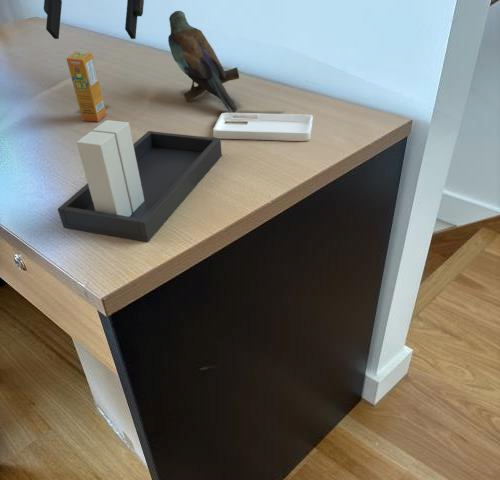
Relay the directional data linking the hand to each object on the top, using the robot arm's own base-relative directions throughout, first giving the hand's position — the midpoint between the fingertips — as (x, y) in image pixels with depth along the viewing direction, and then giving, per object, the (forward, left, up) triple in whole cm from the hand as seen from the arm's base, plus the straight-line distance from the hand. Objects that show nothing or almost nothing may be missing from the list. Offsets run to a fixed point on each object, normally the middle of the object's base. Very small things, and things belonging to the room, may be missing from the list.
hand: (90, 34), depth 84 cm
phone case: (+31, -4, -12) cm, 33 cm away
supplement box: (+1, -6, -12) cm, 13 cm away
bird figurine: (+17, +8, -12) cm, 22 cm away
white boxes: (+22, -33, -11) cm, 42 cm away
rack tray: (+22, -26, -11) cm, 36 cm away
